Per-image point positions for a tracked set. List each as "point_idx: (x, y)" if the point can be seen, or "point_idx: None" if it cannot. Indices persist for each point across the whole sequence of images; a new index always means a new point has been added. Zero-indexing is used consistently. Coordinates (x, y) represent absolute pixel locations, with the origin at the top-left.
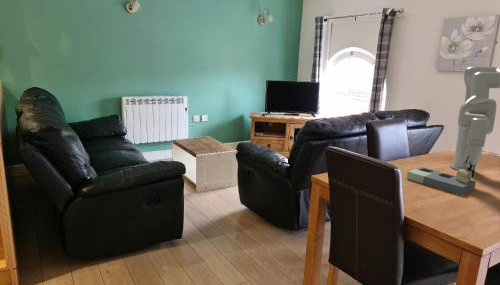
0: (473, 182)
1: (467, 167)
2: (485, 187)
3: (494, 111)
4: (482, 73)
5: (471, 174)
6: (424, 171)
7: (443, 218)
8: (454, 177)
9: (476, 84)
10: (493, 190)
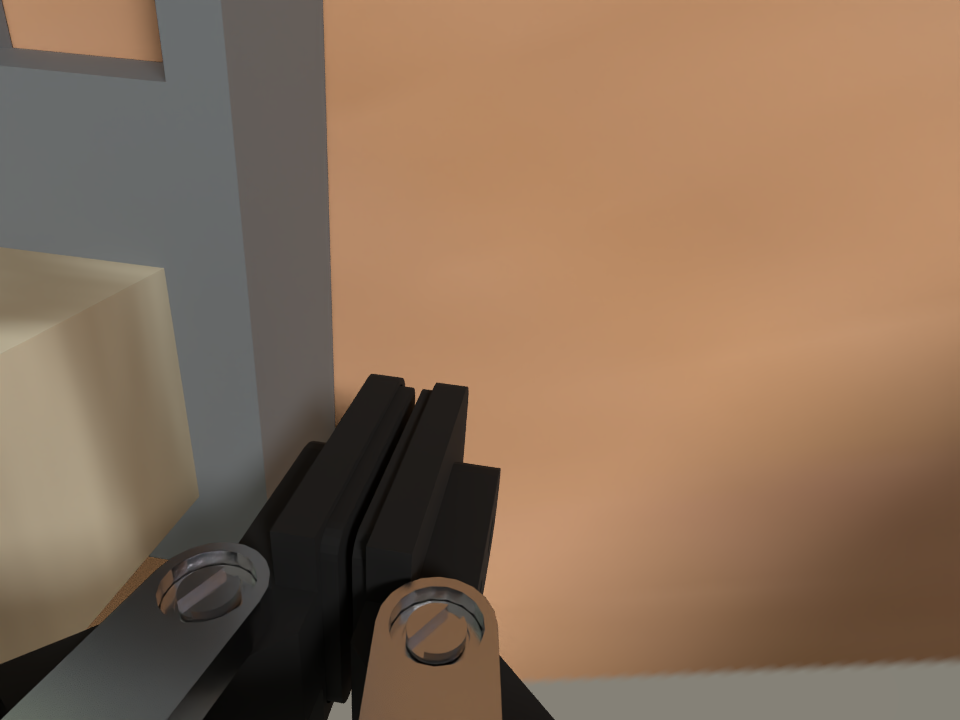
0: (168, 554)
1: (40, 651)
2: (606, 572)
3: None
4: None
5: (75, 633)
6: None
7: None
8: (67, 129)
9: None
10: (543, 662)
